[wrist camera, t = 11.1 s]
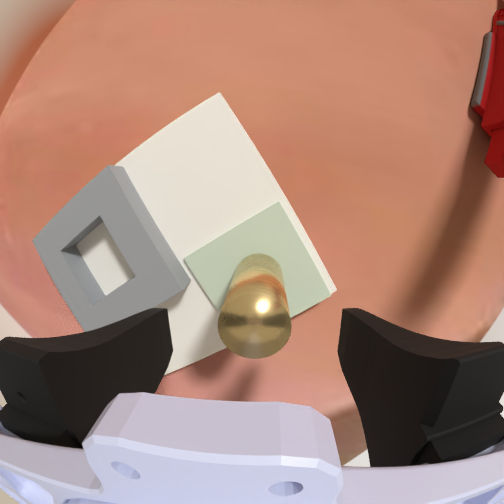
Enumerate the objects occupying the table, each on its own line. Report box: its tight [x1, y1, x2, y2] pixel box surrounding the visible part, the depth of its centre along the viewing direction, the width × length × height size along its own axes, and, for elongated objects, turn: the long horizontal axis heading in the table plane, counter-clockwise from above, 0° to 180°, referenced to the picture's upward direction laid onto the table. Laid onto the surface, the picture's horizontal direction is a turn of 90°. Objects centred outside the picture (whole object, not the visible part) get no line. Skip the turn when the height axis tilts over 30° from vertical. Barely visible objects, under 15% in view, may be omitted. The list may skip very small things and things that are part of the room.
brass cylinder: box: [218, 254, 291, 359], centre depth 15 cm, size 3×3×7 cm
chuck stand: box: [32, 92, 337, 375], centre depth 18 cm, size 15×17×3 cm
